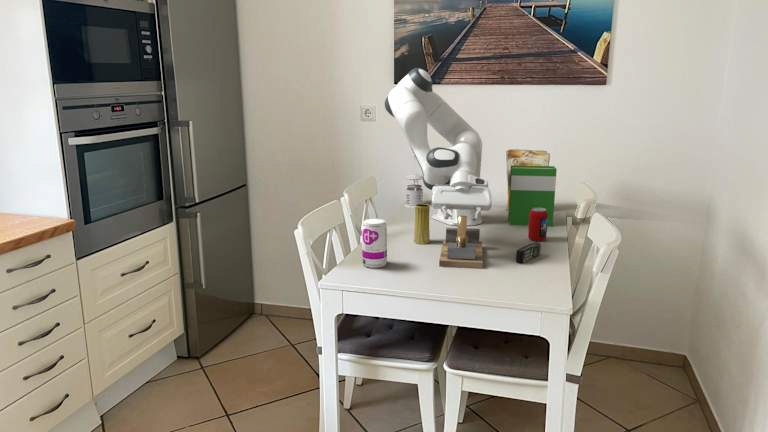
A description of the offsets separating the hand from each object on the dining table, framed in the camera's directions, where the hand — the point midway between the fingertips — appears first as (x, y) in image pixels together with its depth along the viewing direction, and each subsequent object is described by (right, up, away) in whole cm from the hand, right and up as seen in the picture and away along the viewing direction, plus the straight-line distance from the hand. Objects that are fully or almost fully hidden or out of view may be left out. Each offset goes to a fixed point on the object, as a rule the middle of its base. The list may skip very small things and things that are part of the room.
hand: (460, 219), depth 193 cm
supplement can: (-29, -15, 0) cm, 33 cm away
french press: (-11, +6, +83) cm, 84 cm away
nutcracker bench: (+1, -13, +7) cm, 15 cm away
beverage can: (+33, -8, +27) cm, 43 cm away
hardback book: (+36, -2, +50) cm, 62 cm away
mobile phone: (+24, -14, +5) cm, 29 cm away
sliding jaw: (0, -12, 0) cm, 12 cm away
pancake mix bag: (+39, +3, +72) cm, 82 cm away
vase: (-11, -9, +24) cm, 28 cm away
